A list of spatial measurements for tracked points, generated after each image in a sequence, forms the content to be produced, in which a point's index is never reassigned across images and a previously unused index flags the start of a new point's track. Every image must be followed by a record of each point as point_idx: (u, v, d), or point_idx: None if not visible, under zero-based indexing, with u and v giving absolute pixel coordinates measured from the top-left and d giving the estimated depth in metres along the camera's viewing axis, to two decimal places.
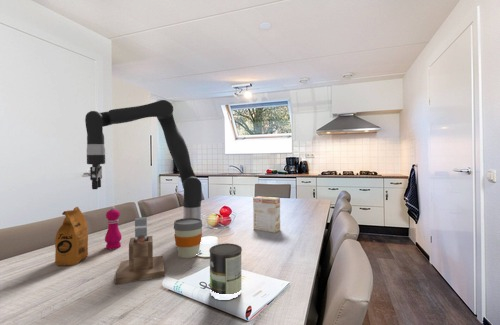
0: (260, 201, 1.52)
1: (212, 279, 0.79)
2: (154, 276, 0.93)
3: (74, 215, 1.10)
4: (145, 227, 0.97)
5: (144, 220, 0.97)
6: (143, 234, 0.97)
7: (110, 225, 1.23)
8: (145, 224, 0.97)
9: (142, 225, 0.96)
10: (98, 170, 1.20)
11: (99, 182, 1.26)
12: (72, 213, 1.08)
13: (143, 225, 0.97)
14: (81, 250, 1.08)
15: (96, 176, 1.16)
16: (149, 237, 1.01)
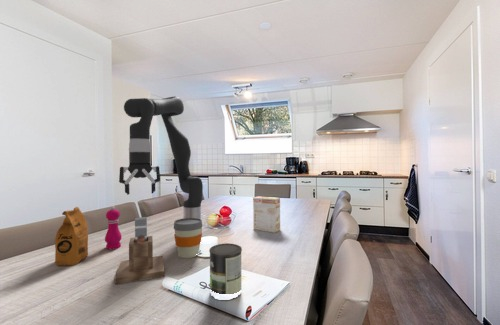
0: (260, 201, 1.52)
1: (212, 279, 0.79)
2: (154, 276, 0.93)
3: (74, 215, 1.10)
4: (145, 227, 0.97)
5: (144, 220, 0.97)
6: (143, 234, 0.97)
7: (110, 225, 1.23)
8: (145, 224, 0.97)
9: (142, 225, 0.96)
10: None
11: None
12: (72, 213, 1.08)
13: (143, 225, 0.97)
14: (81, 250, 1.08)
15: None
16: (149, 237, 1.01)
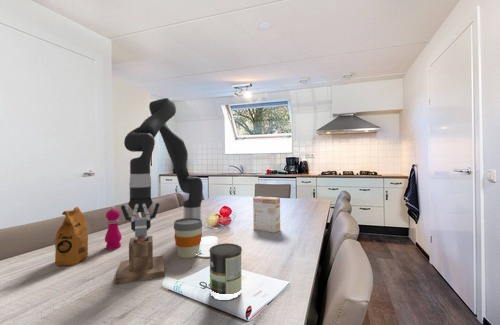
0: (260, 201, 1.52)
1: (212, 279, 0.79)
2: (154, 276, 0.93)
3: (74, 215, 1.10)
4: (145, 227, 0.97)
5: (144, 220, 0.97)
6: (143, 234, 0.97)
7: (110, 225, 1.23)
8: (145, 224, 0.97)
9: (142, 225, 0.96)
10: None
11: None
12: (72, 213, 1.08)
13: (143, 225, 0.97)
14: (81, 250, 1.08)
15: None
16: (149, 237, 1.01)
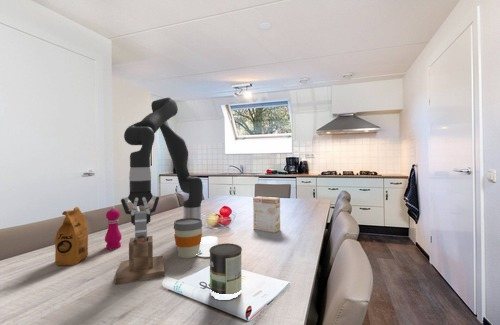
0: (260, 201, 1.52)
1: (212, 279, 0.79)
2: (154, 276, 0.93)
3: (74, 215, 1.10)
4: (145, 221, 0.97)
5: (144, 214, 0.97)
6: (143, 228, 0.97)
7: (110, 225, 1.23)
8: (145, 218, 0.97)
9: (142, 219, 0.96)
10: None
11: None
12: (72, 213, 1.08)
13: (143, 219, 0.97)
14: (81, 250, 1.08)
15: None
16: (149, 237, 1.01)
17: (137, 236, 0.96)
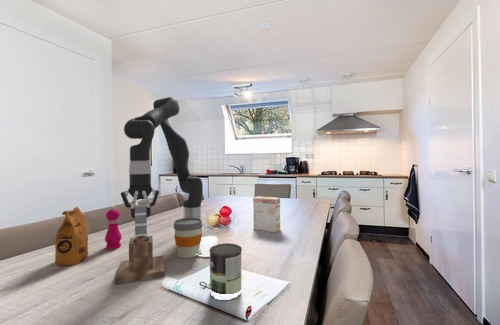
0: (260, 201, 1.52)
1: (212, 279, 0.79)
2: (154, 276, 0.93)
3: (74, 215, 1.10)
4: (145, 214, 0.97)
5: (144, 207, 0.97)
6: (143, 221, 0.97)
7: (110, 225, 1.23)
8: (145, 211, 0.97)
9: (142, 212, 0.96)
10: None
11: None
12: (72, 213, 1.08)
13: (143, 212, 0.96)
14: (81, 250, 1.08)
15: None
16: (149, 237, 1.01)
17: (137, 229, 0.96)
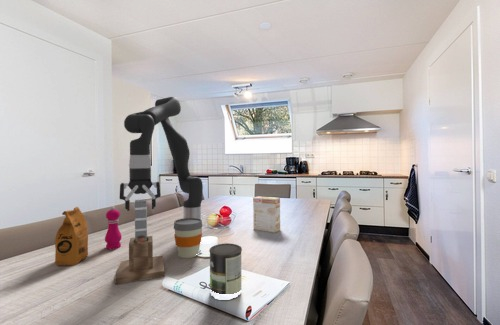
0: (260, 201, 1.52)
1: (212, 279, 0.79)
2: (154, 276, 0.93)
3: (74, 215, 1.10)
4: (145, 209, 0.97)
5: (144, 202, 0.97)
6: (143, 216, 0.96)
7: (110, 225, 1.23)
8: (145, 206, 0.97)
9: (142, 207, 0.96)
10: None
11: (129, 203, 0.97)
12: (72, 213, 1.08)
13: (143, 207, 0.96)
14: (81, 250, 1.08)
15: None
16: (149, 237, 1.01)
17: (137, 224, 0.96)
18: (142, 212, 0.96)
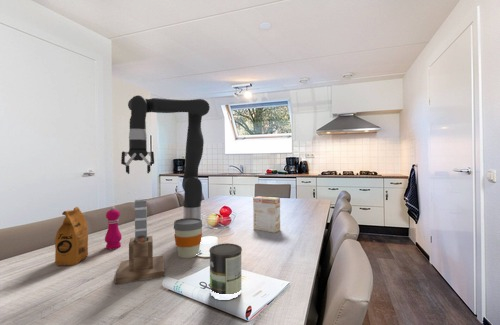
0: (260, 201, 1.52)
1: (212, 279, 0.79)
2: (154, 276, 0.93)
3: (74, 215, 1.10)
4: (145, 209, 0.97)
5: (144, 202, 0.97)
6: (143, 216, 0.96)
7: (110, 225, 1.23)
8: (145, 206, 0.97)
9: (142, 207, 0.96)
10: None
11: None
12: (72, 213, 1.08)
13: (143, 207, 0.96)
14: (81, 250, 1.08)
15: None
16: (149, 237, 1.01)
17: (137, 224, 0.96)
18: (142, 212, 0.96)
